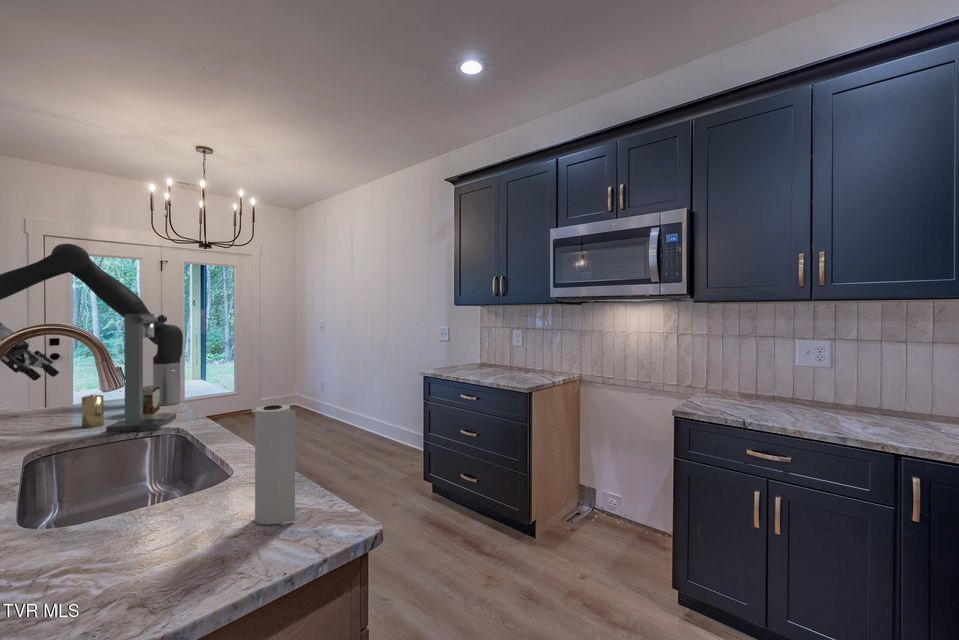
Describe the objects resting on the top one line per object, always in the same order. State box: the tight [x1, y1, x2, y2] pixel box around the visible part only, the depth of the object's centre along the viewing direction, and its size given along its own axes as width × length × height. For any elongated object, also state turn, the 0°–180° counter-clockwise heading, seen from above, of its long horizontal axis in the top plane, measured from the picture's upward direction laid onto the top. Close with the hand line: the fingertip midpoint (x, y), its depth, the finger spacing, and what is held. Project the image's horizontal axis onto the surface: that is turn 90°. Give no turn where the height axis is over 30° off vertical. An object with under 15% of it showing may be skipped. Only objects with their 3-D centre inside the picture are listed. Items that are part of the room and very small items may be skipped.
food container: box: [143, 384, 161, 414], centre depth 163 cm, size 12×6×10 cm, turn 25°
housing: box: [81, 394, 105, 429], centre depth 146 cm, size 6×6×11 cm
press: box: [105, 313, 177, 433], centre depth 147 cm, size 15×16×38 cm
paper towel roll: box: [254, 404, 296, 526], centre depth 82 cm, size 7×6×21 cm
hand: (47, 376), depth 142 cm, fingers open, 8 cm apart
